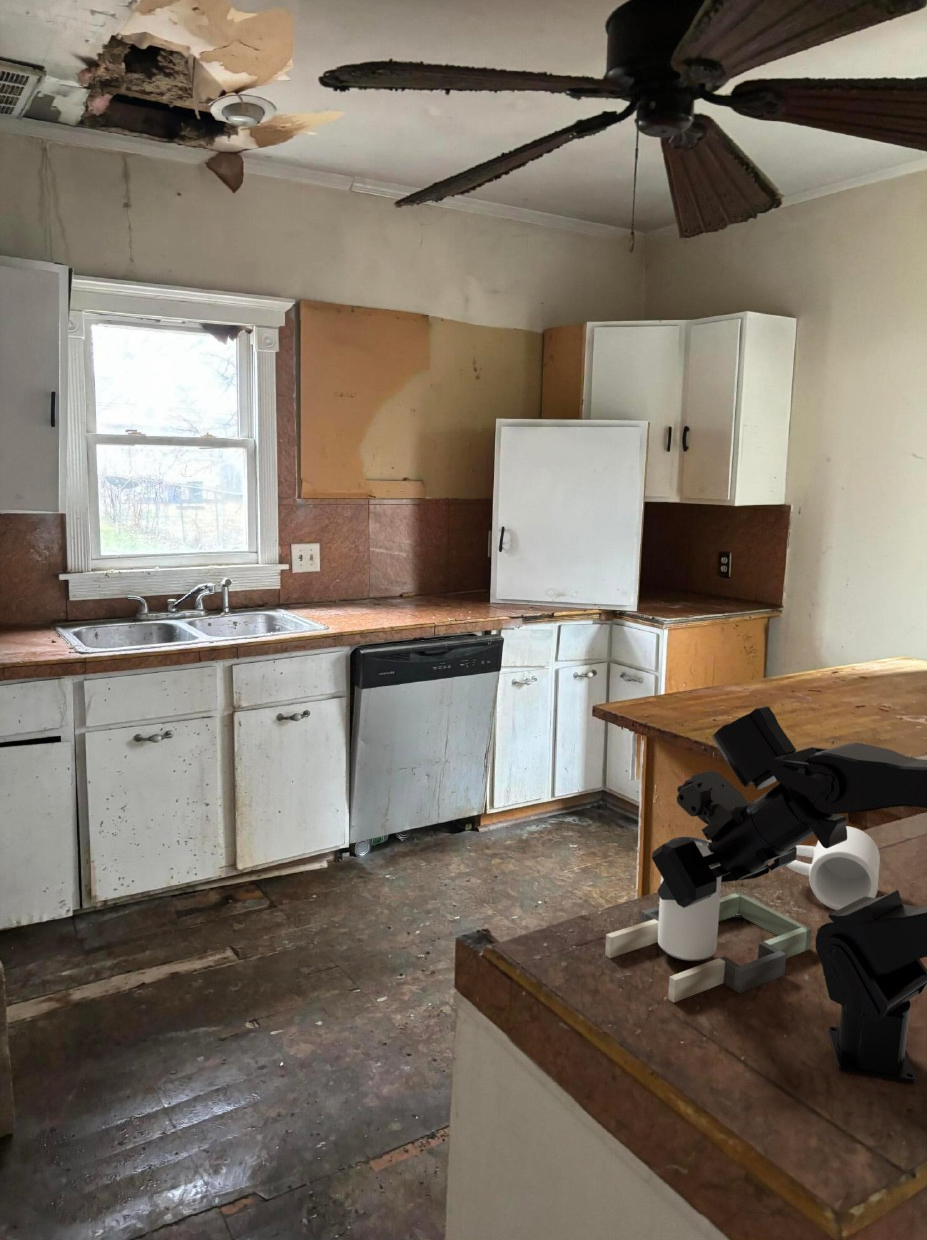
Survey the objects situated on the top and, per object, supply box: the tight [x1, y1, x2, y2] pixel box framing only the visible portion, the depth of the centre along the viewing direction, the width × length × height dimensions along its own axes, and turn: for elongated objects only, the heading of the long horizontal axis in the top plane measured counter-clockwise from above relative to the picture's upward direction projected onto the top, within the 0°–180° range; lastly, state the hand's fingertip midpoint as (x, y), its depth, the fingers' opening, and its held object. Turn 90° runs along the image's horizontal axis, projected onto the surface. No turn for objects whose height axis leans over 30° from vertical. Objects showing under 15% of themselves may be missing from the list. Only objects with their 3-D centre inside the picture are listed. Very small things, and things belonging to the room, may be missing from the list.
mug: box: [785, 825, 881, 911], centre depth 117 cm, size 12×10×8 cm
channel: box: [604, 891, 813, 1004], centre depth 101 cm, size 22×15×2 cm
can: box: [657, 836, 722, 962], centre depth 99 cm, size 6×6×12 cm
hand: (679, 887), depth 100 cm, fingers closed on can, 6 cm apart
